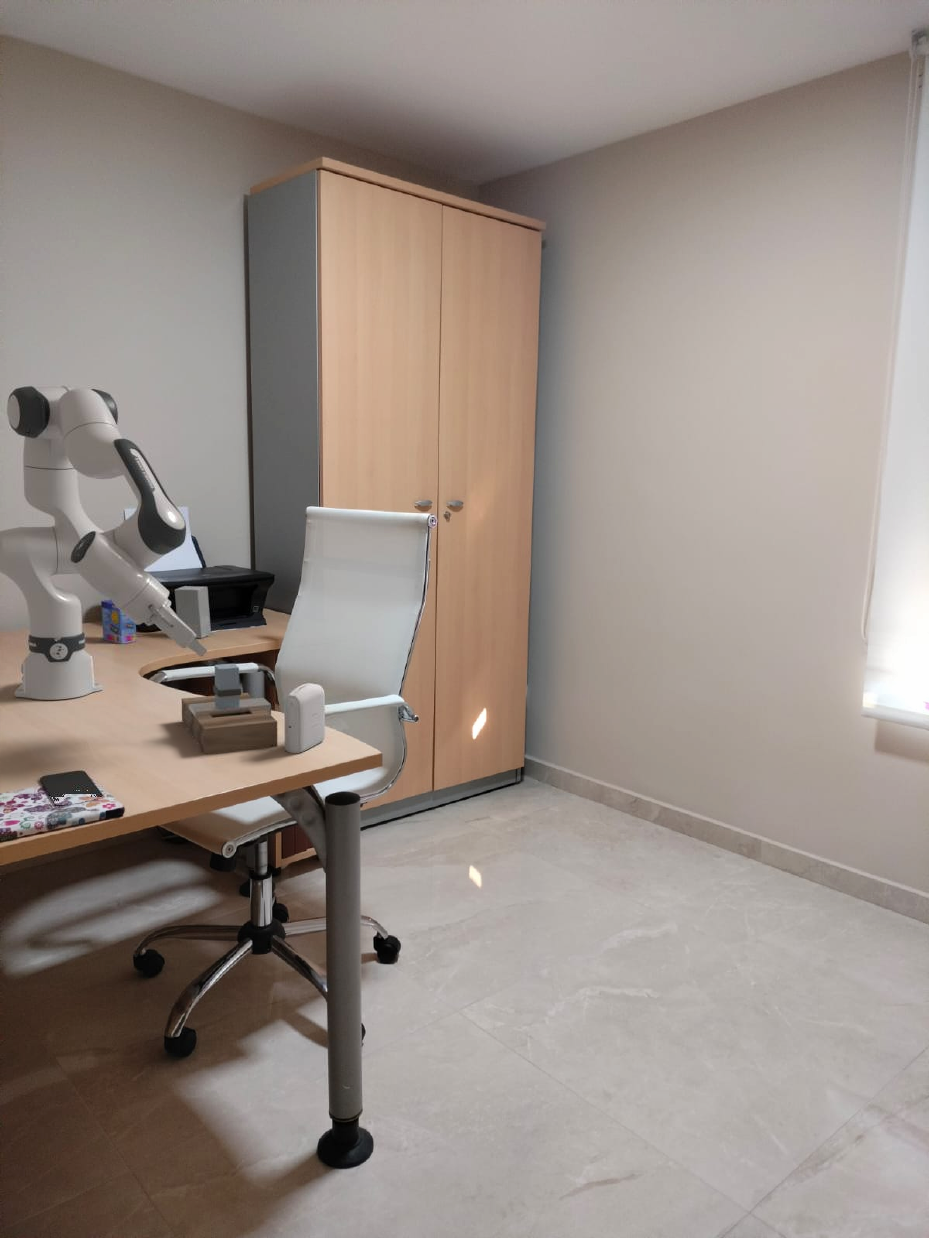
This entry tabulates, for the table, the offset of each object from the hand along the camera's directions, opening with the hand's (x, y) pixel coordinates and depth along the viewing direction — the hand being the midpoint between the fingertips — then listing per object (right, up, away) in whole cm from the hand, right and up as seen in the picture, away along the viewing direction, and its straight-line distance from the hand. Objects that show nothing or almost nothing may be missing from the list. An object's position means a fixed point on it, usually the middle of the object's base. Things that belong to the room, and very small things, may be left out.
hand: (199, 648), depth 180 cm
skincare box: (-33, 0, +105) cm, 110 cm away
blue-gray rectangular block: (+4, -12, +4) cm, 13 cm away
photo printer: (+21, -19, -2) cm, 29 cm away
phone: (-13, -23, -28) cm, 39 cm away
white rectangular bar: (+5, -16, +5) cm, 17 cm away
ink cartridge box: (-52, -1, +95) cm, 108 cm away
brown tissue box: (+4, -18, +5) cm, 19 cm away
